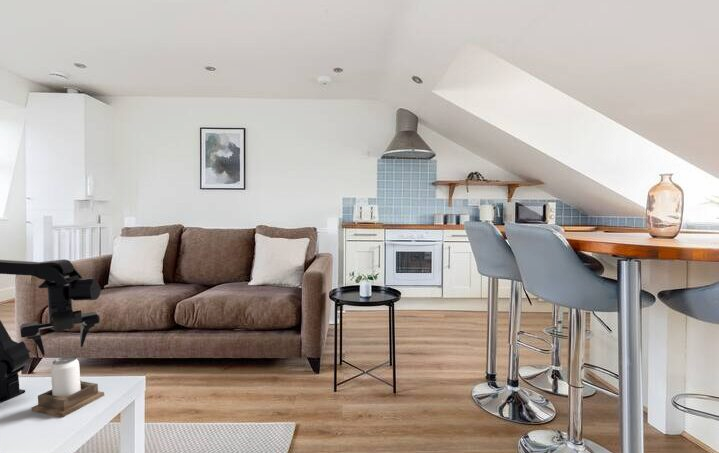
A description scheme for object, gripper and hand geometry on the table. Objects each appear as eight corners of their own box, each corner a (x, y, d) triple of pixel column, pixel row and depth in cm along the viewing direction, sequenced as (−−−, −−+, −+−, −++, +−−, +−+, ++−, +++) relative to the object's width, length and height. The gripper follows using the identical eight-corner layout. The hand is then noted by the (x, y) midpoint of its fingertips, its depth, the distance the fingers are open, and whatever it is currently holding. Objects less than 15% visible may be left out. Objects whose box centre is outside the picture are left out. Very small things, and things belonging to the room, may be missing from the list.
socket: (31, 410, 105) (30, 397, 105) (74, 390, 116) (74, 378, 116) (63, 417, 101) (62, 402, 101) (104, 395, 113) (103, 382, 113)
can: (65, 406, 105) (62, 365, 104) (47, 404, 106) (44, 363, 106) (86, 395, 111) (84, 356, 110) (69, 393, 113) (67, 354, 112)
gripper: (20, 312, 102) (23, 368, 102) (101, 300, 115) (104, 349, 115) (18, 305, 110) (21, 357, 110) (95, 294, 123) (97, 340, 123)
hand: (63, 350), depth 115 cm, fingers open, 9 cm apart
